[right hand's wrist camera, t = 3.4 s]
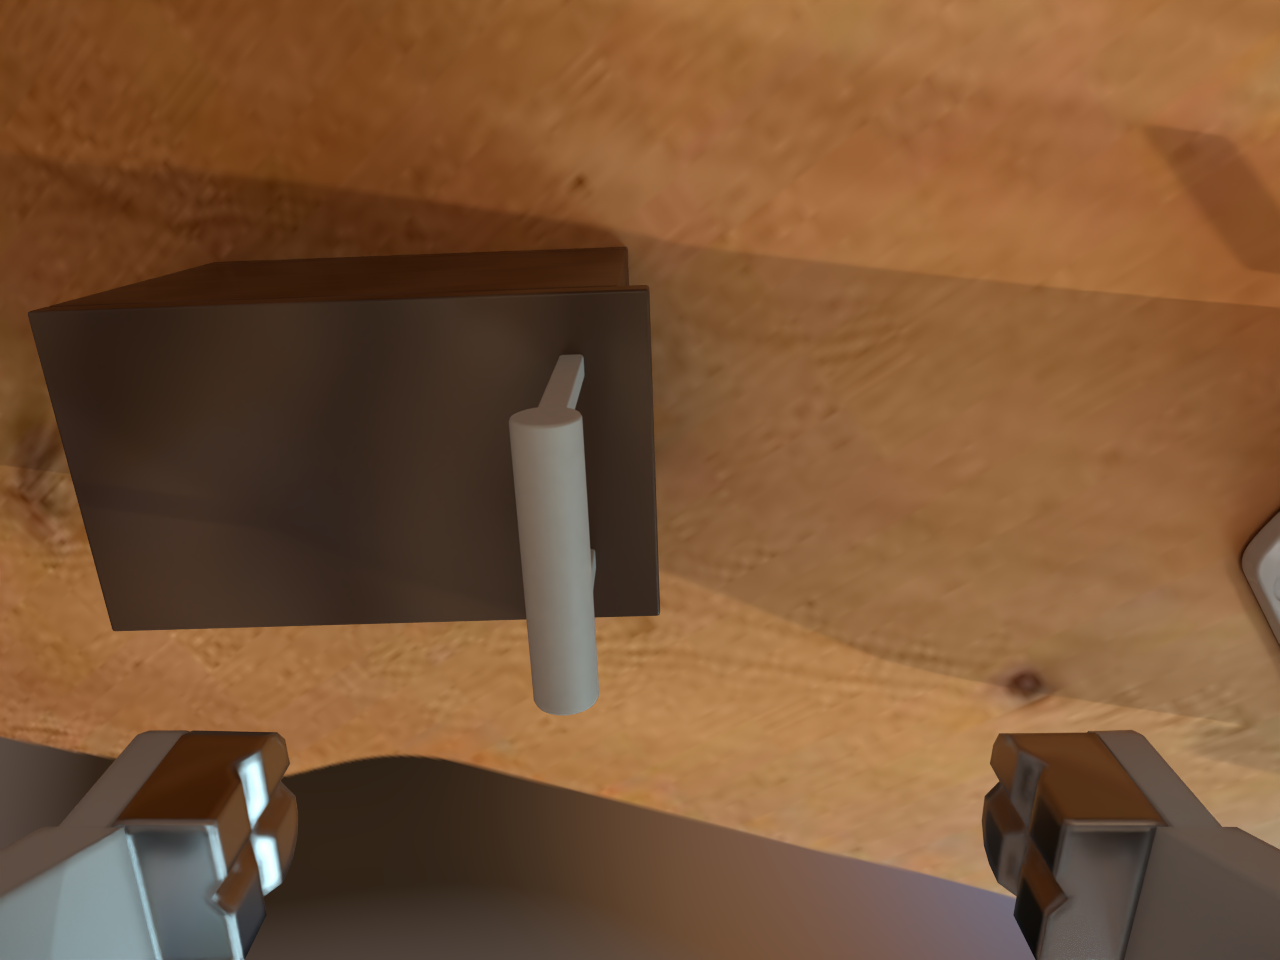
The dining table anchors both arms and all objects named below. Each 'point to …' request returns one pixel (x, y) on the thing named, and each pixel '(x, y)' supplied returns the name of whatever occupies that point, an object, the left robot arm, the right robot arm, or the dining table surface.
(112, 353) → the lid
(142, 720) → the dining table surface
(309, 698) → the dining table surface
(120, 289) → the chest
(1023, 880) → the right robot arm
